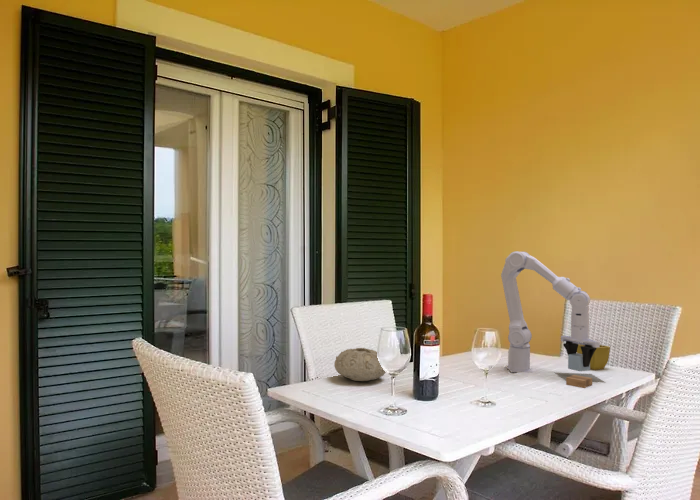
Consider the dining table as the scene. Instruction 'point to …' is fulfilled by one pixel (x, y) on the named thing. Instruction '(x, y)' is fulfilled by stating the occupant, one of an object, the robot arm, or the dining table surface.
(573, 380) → the walnut block
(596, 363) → the flower pot
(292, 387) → the dining table surface
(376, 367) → the grey rounded lump
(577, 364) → the blue cube
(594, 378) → the letter mat
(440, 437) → the dining table surface
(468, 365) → the dining table surface
